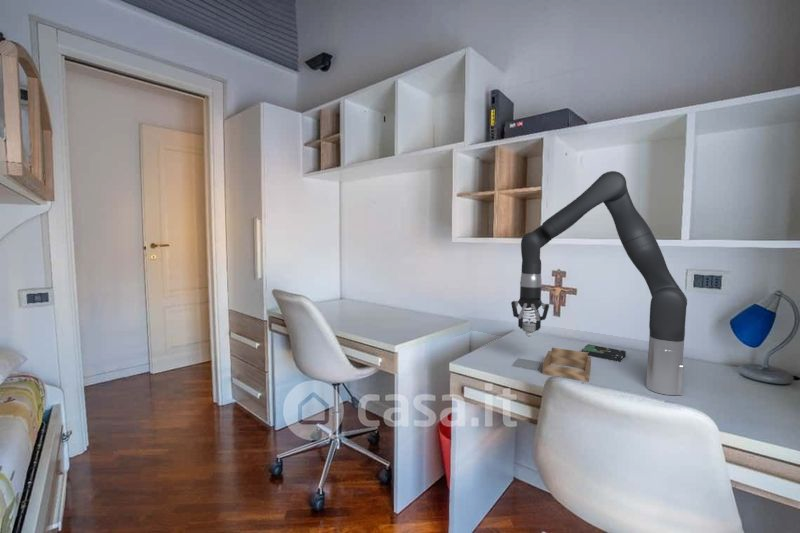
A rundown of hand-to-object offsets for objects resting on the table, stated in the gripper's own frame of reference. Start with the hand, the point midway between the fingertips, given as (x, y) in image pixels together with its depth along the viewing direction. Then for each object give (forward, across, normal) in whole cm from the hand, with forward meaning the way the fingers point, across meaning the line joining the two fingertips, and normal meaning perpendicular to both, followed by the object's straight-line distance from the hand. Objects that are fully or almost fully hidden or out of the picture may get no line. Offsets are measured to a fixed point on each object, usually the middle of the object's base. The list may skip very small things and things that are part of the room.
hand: (529, 329), depth 146 cm
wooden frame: (+14, -14, 0) cm, 20 cm away
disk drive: (+15, -25, -28) cm, 41 cm away
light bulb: (+3, 0, 0) cm, 3 cm away
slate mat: (+14, 0, 0) cm, 14 cm away
